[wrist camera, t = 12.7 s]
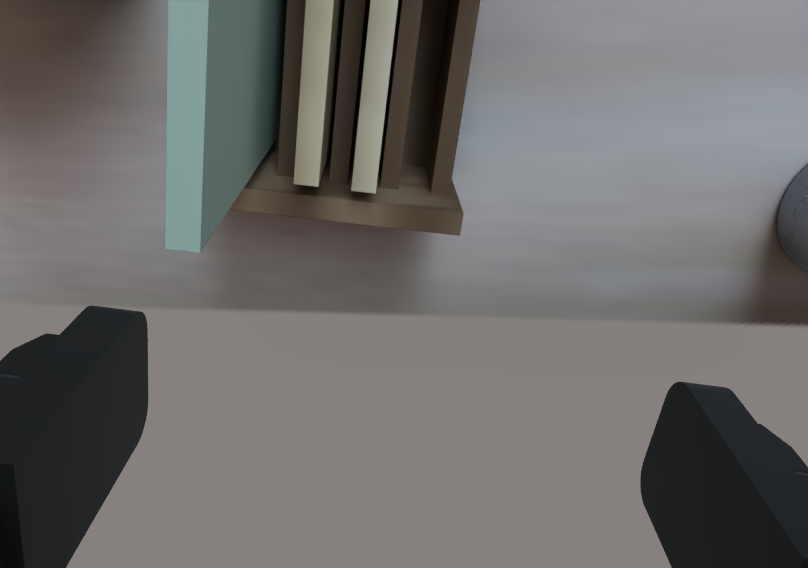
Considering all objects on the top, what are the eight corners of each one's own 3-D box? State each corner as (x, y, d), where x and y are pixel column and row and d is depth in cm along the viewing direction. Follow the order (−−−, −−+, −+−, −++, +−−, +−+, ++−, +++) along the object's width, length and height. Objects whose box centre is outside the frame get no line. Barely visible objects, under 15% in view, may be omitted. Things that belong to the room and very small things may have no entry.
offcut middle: (399, -47, 39) (404, -55, 30) (377, 147, 43) (375, 193, 34) (378, -50, 39) (376, -59, 30) (357, 145, 43) (351, 190, 34)
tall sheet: (294, -63, 38) (212, -101, 20) (278, 135, 43) (199, 252, 24) (272, -67, 38) (169, -108, 20) (259, 132, 43) (165, 248, 24)
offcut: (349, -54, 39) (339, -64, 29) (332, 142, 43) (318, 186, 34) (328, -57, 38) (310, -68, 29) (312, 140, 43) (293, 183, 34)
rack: (484, -74, 39) (515, -90, 30) (444, 183, 45) (459, 235, 36) (234, -111, 38) (187, -139, 29) (226, 157, 44) (185, 204, 35)
